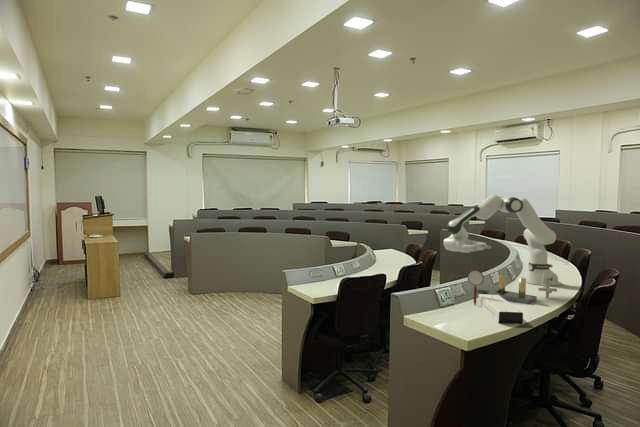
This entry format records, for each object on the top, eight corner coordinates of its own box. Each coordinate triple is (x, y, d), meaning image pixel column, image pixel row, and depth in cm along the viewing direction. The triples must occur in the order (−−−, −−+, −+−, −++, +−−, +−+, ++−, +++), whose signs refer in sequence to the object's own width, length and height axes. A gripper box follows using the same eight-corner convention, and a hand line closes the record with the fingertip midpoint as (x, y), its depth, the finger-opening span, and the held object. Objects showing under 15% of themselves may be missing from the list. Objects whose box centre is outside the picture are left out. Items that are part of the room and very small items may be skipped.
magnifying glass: (466, 304, 233) (467, 269, 231) (467, 303, 234) (468, 269, 233) (482, 306, 228) (483, 271, 227) (483, 306, 229) (484, 270, 228)
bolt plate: (487, 295, 252) (488, 275, 251) (496, 292, 260) (497, 272, 259) (528, 304, 234) (529, 281, 233) (536, 300, 242) (537, 278, 241)
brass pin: (502, 295, 253) (503, 274, 252) (506, 296, 249) (506, 275, 249) (497, 295, 253) (497, 274, 252) (500, 297, 249) (501, 275, 248)
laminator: (478, 304, 233) (478, 294, 233) (500, 305, 232) (500, 294, 232) (498, 324, 199) (499, 311, 199) (525, 325, 198) (525, 312, 198)
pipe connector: (559, 300, 242) (560, 283, 242) (541, 299, 244) (541, 283, 244) (553, 296, 252) (553, 280, 251) (535, 295, 254) (536, 279, 253)
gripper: (458, 242, 263) (479, 244, 253) (474, 239, 277) (494, 241, 267) (458, 252, 264) (478, 254, 253) (474, 249, 277) (494, 251, 267)
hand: (486, 248), depth 260 cm, fingers open, 8 cm apart
